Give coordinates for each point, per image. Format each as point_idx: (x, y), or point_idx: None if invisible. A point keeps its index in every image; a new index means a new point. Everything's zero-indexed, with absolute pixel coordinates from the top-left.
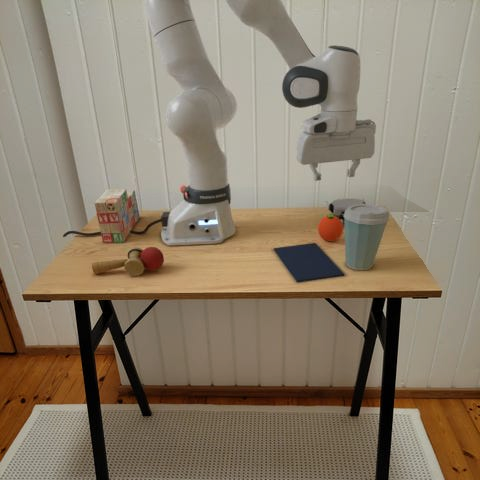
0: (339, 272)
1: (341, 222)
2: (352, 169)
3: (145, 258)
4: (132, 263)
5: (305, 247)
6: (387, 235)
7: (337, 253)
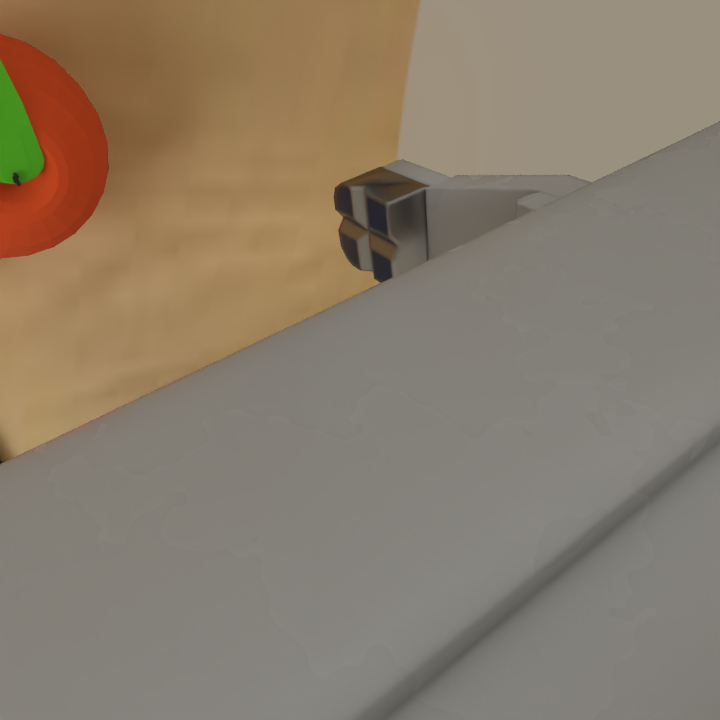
0: None
1: (103, 175)
2: (434, 256)
3: None
4: None
5: None
6: (359, 69)
7: (36, 344)
